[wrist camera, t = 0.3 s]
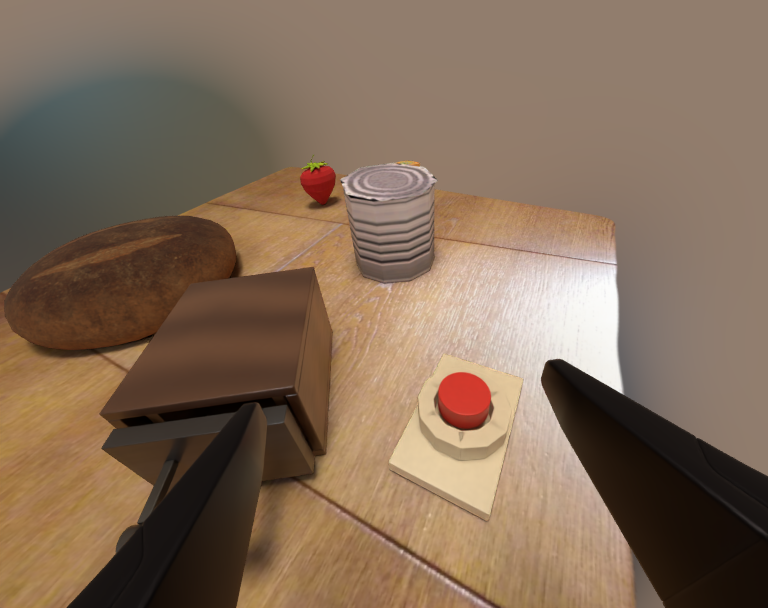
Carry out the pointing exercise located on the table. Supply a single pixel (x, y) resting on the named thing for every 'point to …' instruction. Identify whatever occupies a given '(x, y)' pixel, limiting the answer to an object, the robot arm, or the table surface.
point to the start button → (464, 400)
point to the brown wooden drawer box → (236, 352)
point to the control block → (459, 441)
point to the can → (391, 220)
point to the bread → (116, 282)
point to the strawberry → (318, 181)
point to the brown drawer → (203, 446)
